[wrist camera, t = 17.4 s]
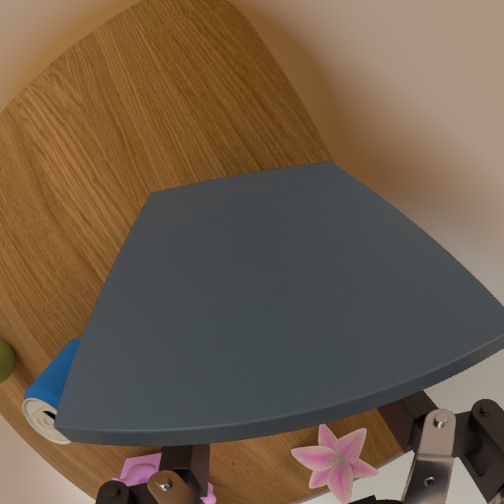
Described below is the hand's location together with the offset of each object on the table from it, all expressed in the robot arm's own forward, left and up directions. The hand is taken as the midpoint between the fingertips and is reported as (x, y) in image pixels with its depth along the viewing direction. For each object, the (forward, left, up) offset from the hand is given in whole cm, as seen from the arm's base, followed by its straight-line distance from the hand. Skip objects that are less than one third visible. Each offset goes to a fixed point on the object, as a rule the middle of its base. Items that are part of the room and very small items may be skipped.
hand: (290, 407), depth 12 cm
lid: (-4, -6, -2) cm, 7 cm away
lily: (+10, +24, -18) cm, 32 cm away
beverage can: (+21, -7, -18) cm, 28 cm away
